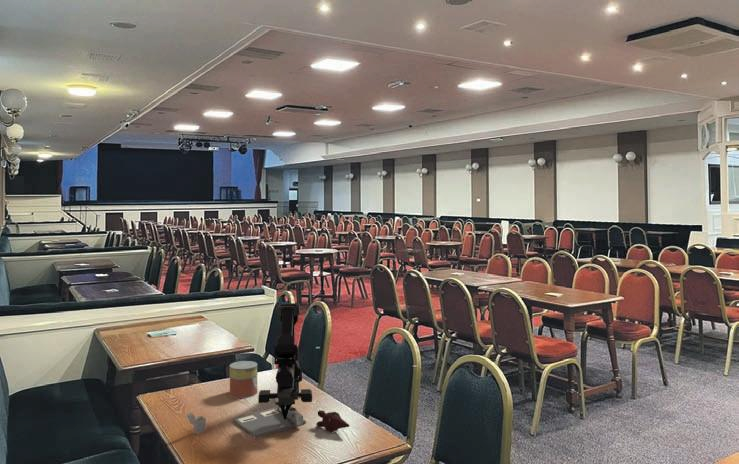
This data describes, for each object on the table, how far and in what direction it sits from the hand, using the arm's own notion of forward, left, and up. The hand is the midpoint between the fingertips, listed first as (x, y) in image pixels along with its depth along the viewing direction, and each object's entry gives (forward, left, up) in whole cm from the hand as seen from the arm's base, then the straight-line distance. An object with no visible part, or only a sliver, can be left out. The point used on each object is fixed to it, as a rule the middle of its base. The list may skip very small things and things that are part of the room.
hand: (285, 419), depth 199 cm
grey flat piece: (+27, -13, -2) cm, 30 cm away
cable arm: (-4, -3, -1) cm, 5 cm away
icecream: (-11, +14, -2) cm, 18 cm away
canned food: (-3, -39, -2) cm, 39 cm away
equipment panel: (+3, -6, -2) cm, 7 cm away
